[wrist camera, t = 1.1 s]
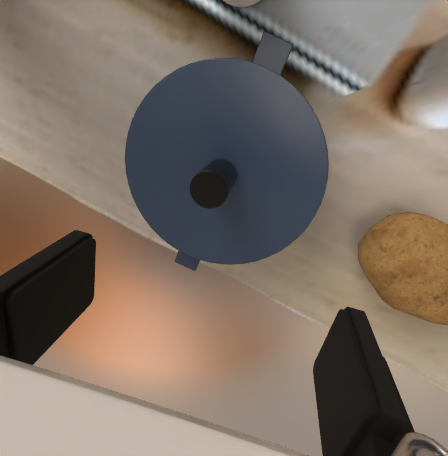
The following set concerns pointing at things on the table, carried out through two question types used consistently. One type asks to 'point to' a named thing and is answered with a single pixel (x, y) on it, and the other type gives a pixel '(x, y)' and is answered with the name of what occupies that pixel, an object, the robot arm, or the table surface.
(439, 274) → the potato
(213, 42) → the table surface
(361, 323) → the robot arm
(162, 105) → the lid
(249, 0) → the can
